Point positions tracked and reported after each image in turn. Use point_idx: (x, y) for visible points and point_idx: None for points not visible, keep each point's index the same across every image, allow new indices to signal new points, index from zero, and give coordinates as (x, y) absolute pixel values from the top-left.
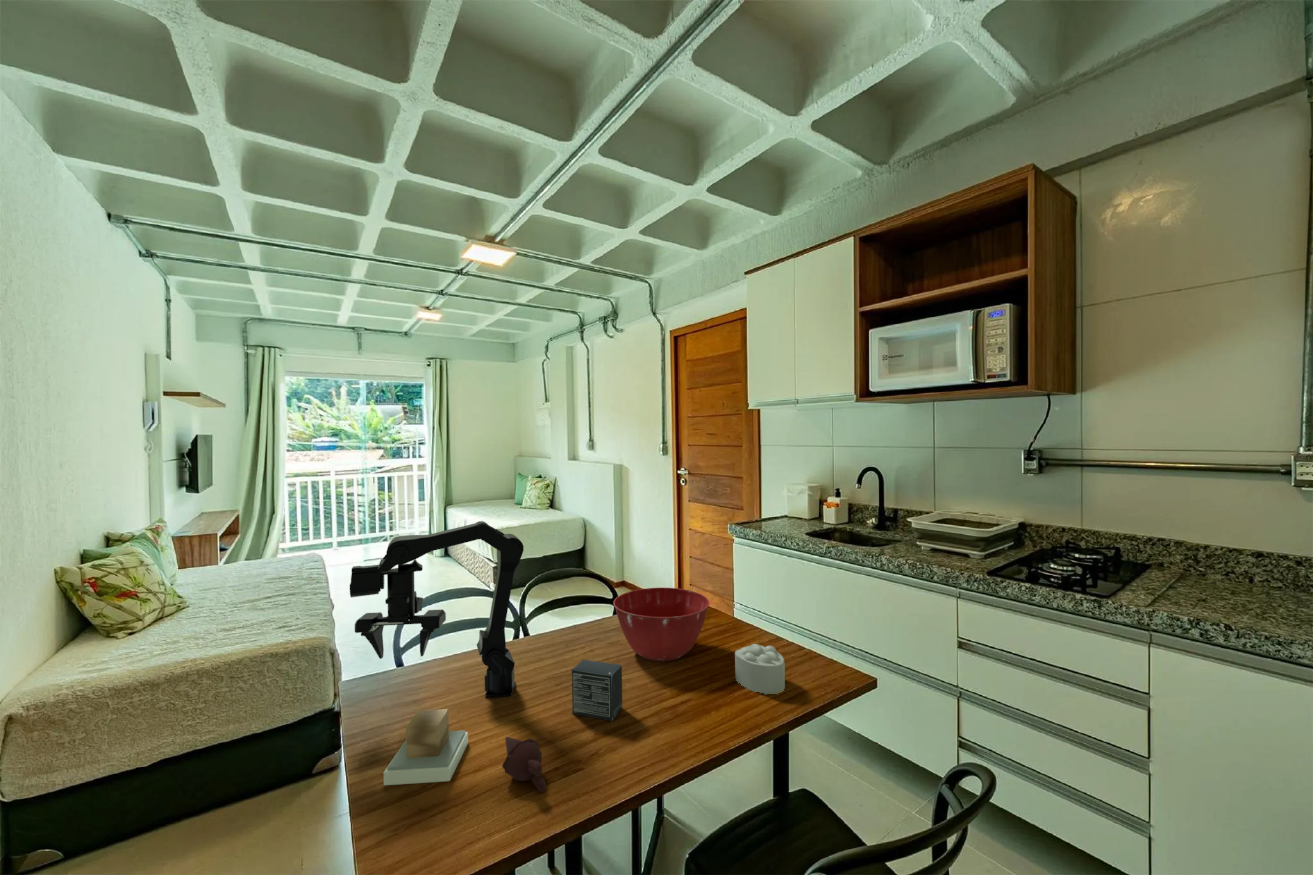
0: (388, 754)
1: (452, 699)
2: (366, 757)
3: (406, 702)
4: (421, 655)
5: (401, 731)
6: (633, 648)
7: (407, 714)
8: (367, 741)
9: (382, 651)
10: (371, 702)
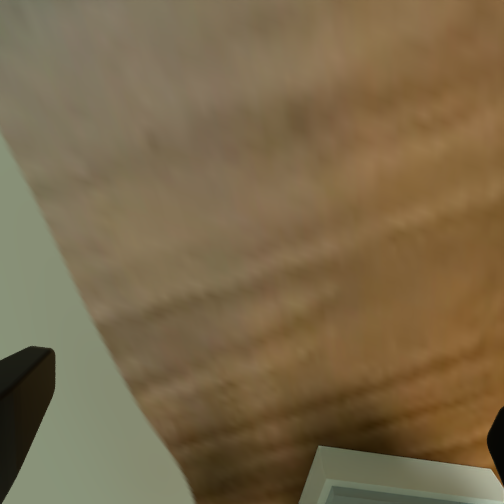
0: (261, 465)
1: (477, 160)
2: (198, 463)
3: (257, 119)
4: (500, 458)
5: (278, 359)
6: None
7: (281, 242)
8: (172, 387)
9: (14, 420)
10: (66, 55)
